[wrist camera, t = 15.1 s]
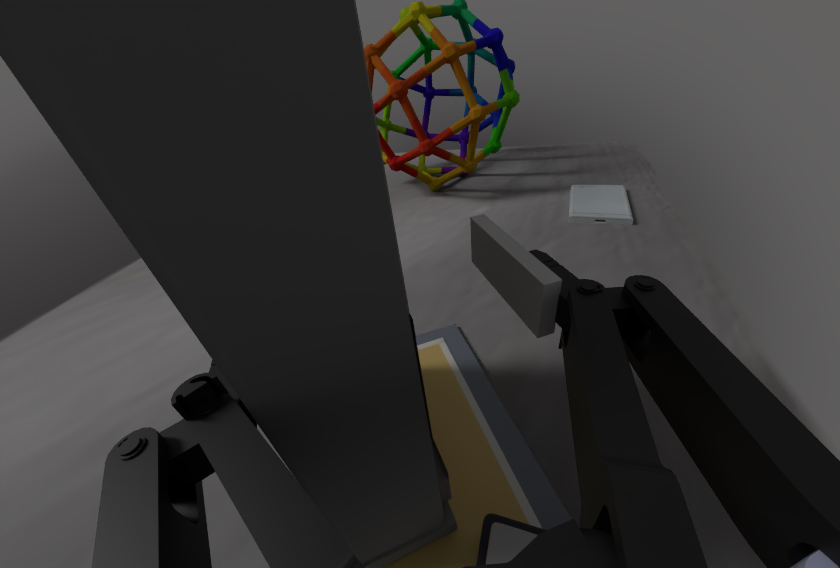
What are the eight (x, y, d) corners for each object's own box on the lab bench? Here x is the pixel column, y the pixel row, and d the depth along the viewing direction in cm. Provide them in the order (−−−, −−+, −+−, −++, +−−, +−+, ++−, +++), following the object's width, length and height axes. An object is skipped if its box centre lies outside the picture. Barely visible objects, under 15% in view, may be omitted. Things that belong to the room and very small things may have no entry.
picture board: (344, 699, 16) (341, 698, 15) (319, 368, 32) (318, 364, 32) (602, 575, 18) (604, 572, 18) (455, 326, 35) (455, 323, 34)
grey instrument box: (461, 529, 20) (397, -55, 6) (361, 579, 19) (-73, -20, 4) (394, 365, 31) (313, 22, 16) (328, 389, 30) (175, 38, 15)
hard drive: (571, 184, 58) (569, 215, 49) (625, 185, 55) (634, 217, 46) (570, 193, 59) (568, 225, 50) (623, 194, 56) (631, 228, 47)
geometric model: (283, 63, 55) (436, -58, 36) (382, 39, 74) (514, -48, 56) (369, 226, 68) (511, 197, 50) (433, 170, 88) (552, 135, 70)
